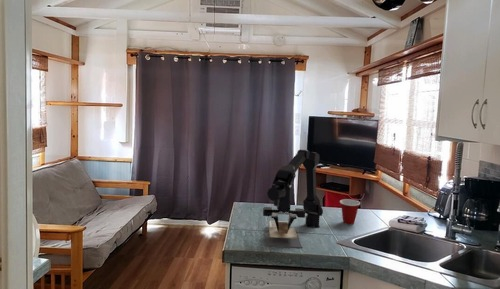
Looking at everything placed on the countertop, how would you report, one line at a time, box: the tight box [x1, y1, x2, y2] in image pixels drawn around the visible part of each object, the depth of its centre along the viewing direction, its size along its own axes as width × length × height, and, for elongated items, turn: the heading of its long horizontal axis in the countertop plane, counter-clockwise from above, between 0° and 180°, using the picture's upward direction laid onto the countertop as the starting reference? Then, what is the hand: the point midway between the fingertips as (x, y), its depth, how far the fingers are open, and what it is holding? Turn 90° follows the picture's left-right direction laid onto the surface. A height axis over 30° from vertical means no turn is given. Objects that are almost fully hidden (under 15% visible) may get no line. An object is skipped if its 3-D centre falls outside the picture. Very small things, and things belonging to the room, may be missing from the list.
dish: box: [268, 220, 292, 228], centre depth 183 cm, size 10×10×3 cm
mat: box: [263, 232, 303, 249], centre depth 167 cm, size 16×16×1 cm
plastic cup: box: [339, 198, 361, 225], centre depth 201 cm, size 11×11×12 cm
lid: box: [268, 221, 298, 238], centre depth 167 cm, size 12×12×5 cm
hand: (282, 230), depth 167 cm, fingers closed on lid, 4 cm apart
